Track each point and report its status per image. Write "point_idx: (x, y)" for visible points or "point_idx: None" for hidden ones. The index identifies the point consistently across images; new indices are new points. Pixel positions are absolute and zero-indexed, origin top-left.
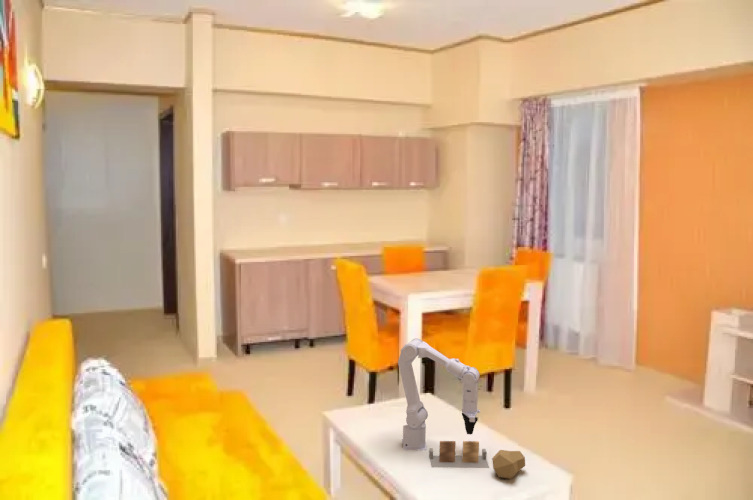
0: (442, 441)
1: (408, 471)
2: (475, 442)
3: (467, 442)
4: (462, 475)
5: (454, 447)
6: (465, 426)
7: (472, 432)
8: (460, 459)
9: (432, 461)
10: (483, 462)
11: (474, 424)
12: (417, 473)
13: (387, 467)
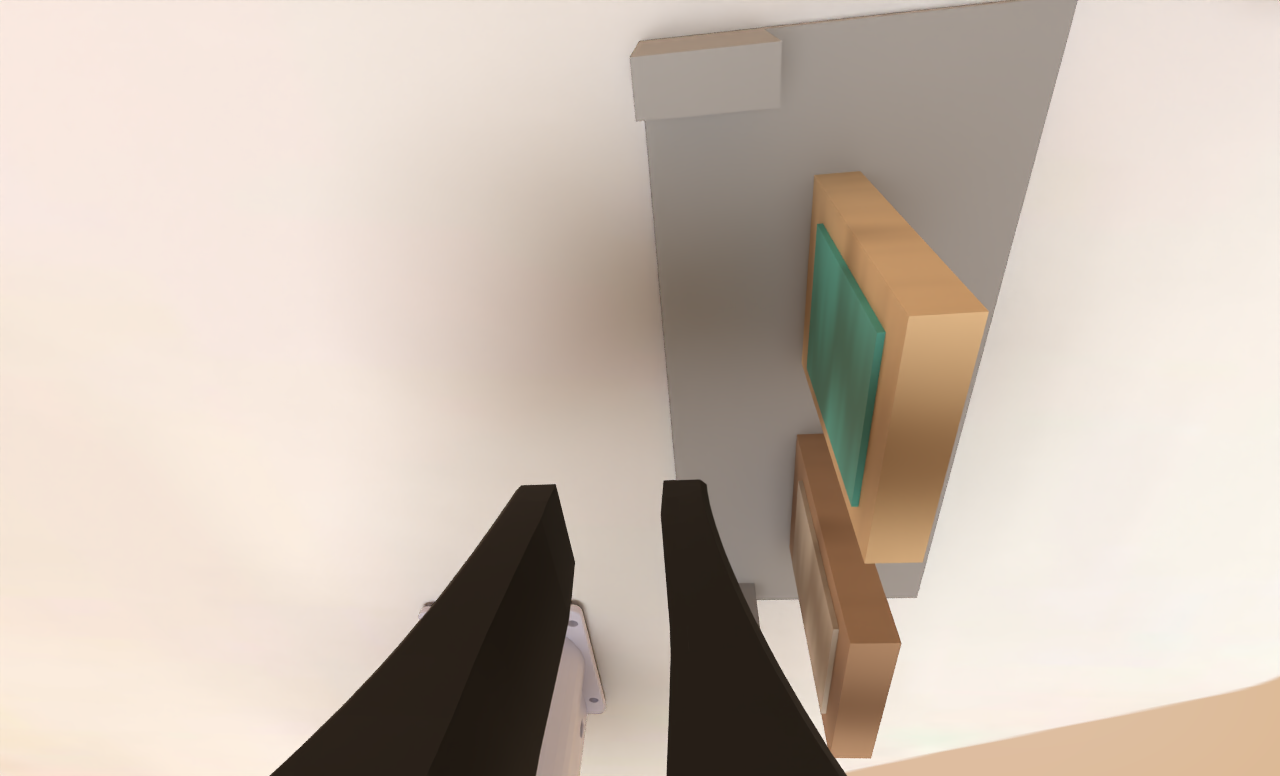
0: (849, 741)
1: (935, 691)
2: (962, 383)
3: (935, 511)
4: (1134, 371)
5: (878, 582)
6: (551, 679)
7: (711, 510)
8: (763, 380)
9: None
10: (870, 89)
11: (826, 755)
12: (980, 656)
13: (858, 760)
